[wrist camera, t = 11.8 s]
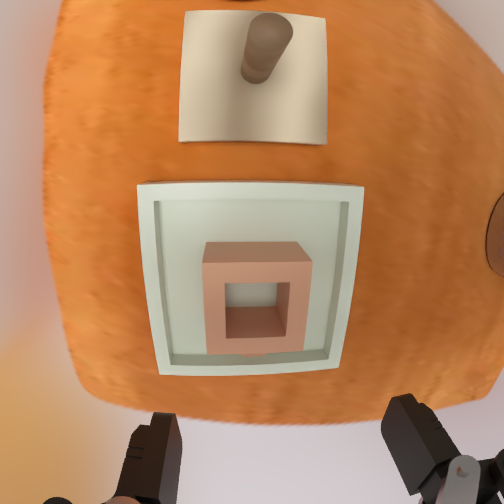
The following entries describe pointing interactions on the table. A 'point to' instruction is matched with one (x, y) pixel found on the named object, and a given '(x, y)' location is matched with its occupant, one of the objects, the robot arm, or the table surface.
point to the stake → (253, 78)
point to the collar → (256, 318)
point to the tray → (246, 294)
